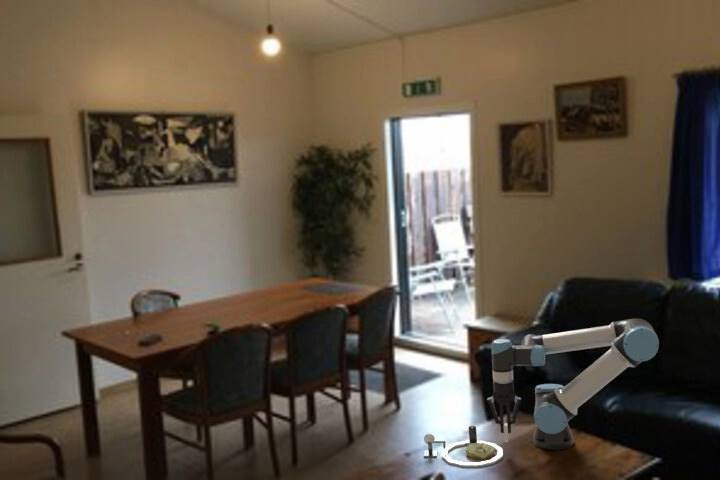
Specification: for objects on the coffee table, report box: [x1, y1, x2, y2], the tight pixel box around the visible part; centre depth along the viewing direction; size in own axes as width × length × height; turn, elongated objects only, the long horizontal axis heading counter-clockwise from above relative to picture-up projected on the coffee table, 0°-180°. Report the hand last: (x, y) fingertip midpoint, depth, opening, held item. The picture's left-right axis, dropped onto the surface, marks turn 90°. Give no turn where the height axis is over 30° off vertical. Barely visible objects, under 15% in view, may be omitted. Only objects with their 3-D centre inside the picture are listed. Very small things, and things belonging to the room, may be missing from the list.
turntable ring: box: [441, 425, 504, 468], centre depth 282 cm, size 23×24×7 cm
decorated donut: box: [465, 443, 495, 461], centre depth 281 cm, size 10×11×4 cm
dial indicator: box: [423, 433, 447, 459], centre depth 284 cm, size 8×5×9 cm, turn 79°
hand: (506, 440), depth 279 cm, fingers closed
